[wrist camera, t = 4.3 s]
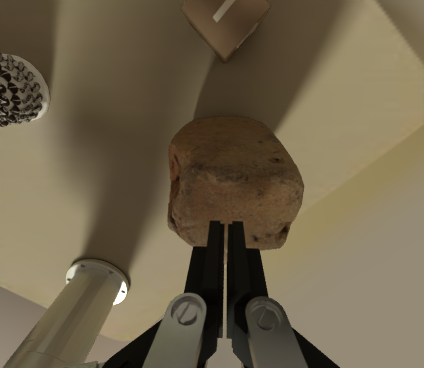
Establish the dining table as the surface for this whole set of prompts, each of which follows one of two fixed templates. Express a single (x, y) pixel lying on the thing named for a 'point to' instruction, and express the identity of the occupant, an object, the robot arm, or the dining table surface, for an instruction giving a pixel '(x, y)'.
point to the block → (232, 182)
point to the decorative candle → (21, 91)
